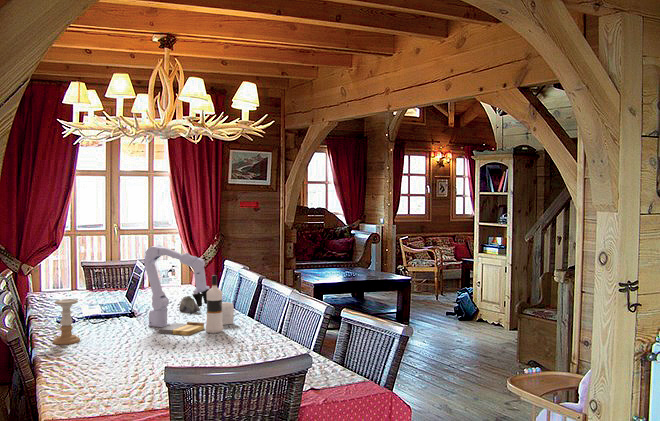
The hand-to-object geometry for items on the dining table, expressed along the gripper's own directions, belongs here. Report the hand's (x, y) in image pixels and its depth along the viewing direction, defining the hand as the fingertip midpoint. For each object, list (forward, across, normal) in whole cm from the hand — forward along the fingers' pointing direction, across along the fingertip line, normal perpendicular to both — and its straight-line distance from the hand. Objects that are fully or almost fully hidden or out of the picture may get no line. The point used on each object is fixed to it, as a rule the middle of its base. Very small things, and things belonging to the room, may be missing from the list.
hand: (203, 305), depth 342 cm
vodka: (+13, -9, -10) cm, 19 cm away
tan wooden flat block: (+11, -13, +3) cm, 18 cm away
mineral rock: (+10, +34, +29) cm, 46 cm away
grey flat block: (+10, -13, +12) cm, 21 cm away
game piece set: (+17, -45, -44) cm, 65 cm away
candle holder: (+5, -52, +48) cm, 71 cm away
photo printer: (+13, +9, -7) cm, 17 cm away
